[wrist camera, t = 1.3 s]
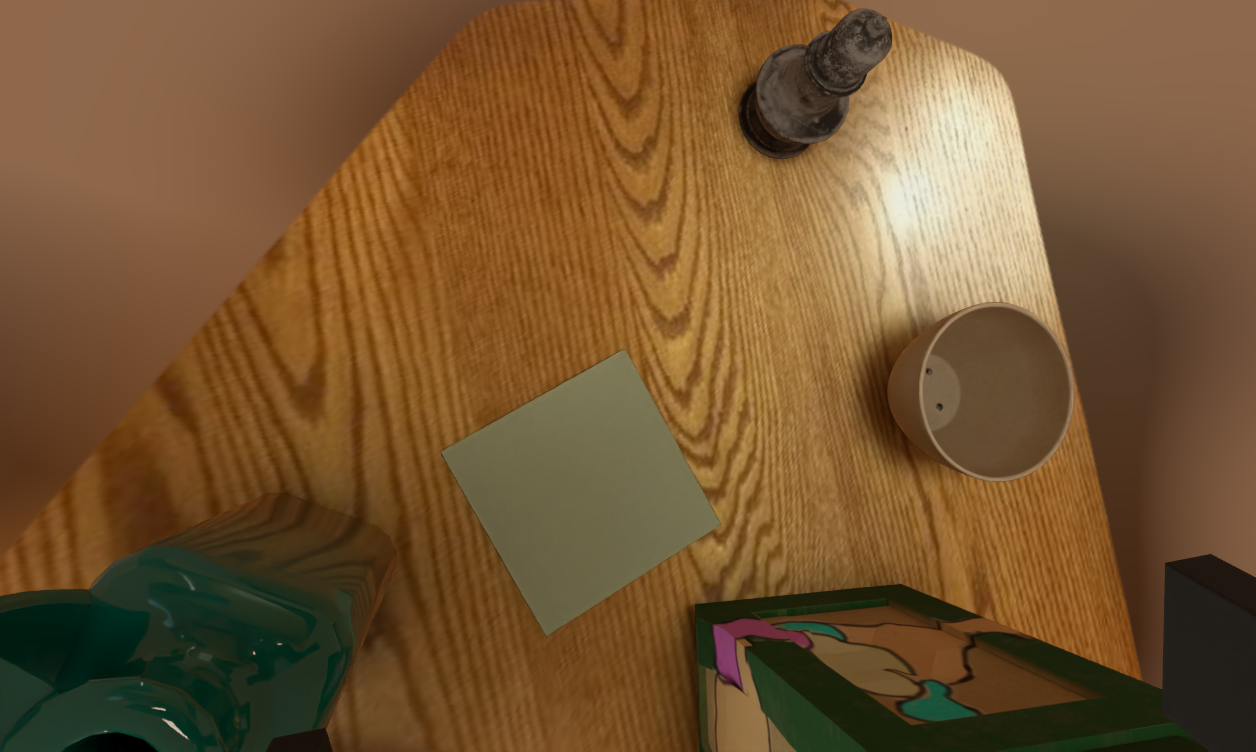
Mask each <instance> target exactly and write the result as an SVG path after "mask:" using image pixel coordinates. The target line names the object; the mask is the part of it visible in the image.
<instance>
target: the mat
mask: <svg viewBox="0 0 1256 752" xmlns="http://www.w3.org/2000/svg"><path fill="white" fill-rule="evenodd" d="M441 454H442V456H443V458H444V460H445V461H446V463H447V465H448V467H449V468H450V470H451V472H452V474H453V475H454V477H455V479H456V481H457V482H458V484H459V486H460V488H461V489H462V491H463V493H464V494H465V496H466V498H467V500H468V501H469V503H470V505H471V507H472V508H473V510H474V512H475V514H476V515H477V517H478V519H479V521H480V522H481V524H482V526H483V528H484V529H485V531H486V533H487V535H488V536H489V538H490V540H491V542H492V543H493V545H494V547H495V548H496V550H497V552H498V554H499V555H500V557H501V559H502V561H503V562H504V564H505V566H506V568H507V569H508V571H509V573H510V575H511V576H512V578H513V580H514V582H515V583H516V585H517V587H518V589H519V590H520V592H521V594H522V596H523V597H524V599H525V601H526V602H527V604H528V606H529V608H530V609H531V611H532V613H533V615H534V616H535V618H536V620H537V622H538V623H539V625H540V627H541V629H542V630H543V632H544V634H545V636H548V635H549V634H551V633H553V632H554V631H556V630H557V629H559V628H560V627H562V626H563V625H565V624H567V623H568V622H570V621H571V620H573V619H574V618H576V617H578V616H579V615H581V614H582V613H584V612H585V611H587V610H588V609H590V608H592V607H593V606H595V605H596V604H598V603H599V602H601V601H603V600H604V599H606V598H607V597H609V596H610V595H612V594H613V593H615V592H617V591H618V590H620V589H621V588H623V587H624V586H626V585H628V584H629V583H631V582H632V581H634V580H635V579H637V578H638V577H640V576H642V575H643V574H645V573H646V572H648V571H649V570H651V569H653V568H654V567H656V566H657V565H659V564H660V563H662V562H663V561H665V560H667V559H668V558H670V557H671V556H673V555H674V554H676V553H677V552H679V551H681V550H682V549H684V548H685V547H687V546H688V545H690V544H692V543H693V542H695V541H696V540H698V539H699V538H701V537H702V536H704V535H706V534H707V533H709V532H710V531H712V530H713V529H715V528H717V527H718V526H720V525H721V523H720V521H719V519H718V518H717V516H716V514H715V512H714V510H713V508H712V507H711V505H710V503H709V501H708V499H707V497H706V496H705V494H704V492H703V490H702V488H701V486H700V485H699V483H698V481H697V479H696V477H695V476H694V474H693V472H692V470H691V468H690V466H689V465H688V463H687V461H686V459H685V457H684V455H683V454H682V452H681V450H680V448H679V446H678V444H677V443H676V441H675V439H674V437H673V435H672V433H671V432H670V430H669V428H668V426H667V424H666V422H665V421H664V419H663V417H662V415H661V413H660V412H659V410H658V408H657V406H656V404H655V402H654V401H653V399H652V397H651V395H650V393H649V391H648V390H647V388H646V386H645V384H644V382H643V380H642V379H641V377H640V375H639V373H638V371H637V369H636V368H635V366H634V364H633V362H632V360H631V359H630V357H629V355H628V353H627V351H626V349H623V350H621V351H619V352H617V353H616V354H614V355H612V356H610V357H608V358H607V359H605V360H603V361H601V362H599V363H598V364H596V365H594V366H592V367H591V368H589V369H587V370H585V371H583V372H582V373H580V374H578V375H576V376H574V377H573V378H571V379H569V380H567V381H565V382H564V383H562V384H560V385H558V386H556V387H555V388H553V389H551V390H549V391H548V392H546V393H544V394H542V395H540V396H539V397H537V398H535V399H533V400H531V401H530V402H528V403H526V404H524V405H522V406H521V407H519V408H517V409H515V410H514V411H512V412H510V413H508V414H506V415H505V416H503V417H501V418H499V419H497V420H496V421H494V422H492V423H490V424H488V425H487V426H485V427H483V428H481V429H479V430H478V431H476V432H474V433H472V434H471V435H469V436H467V437H465V438H463V439H462V440H460V441H458V442H456V443H454V444H453V445H451V446H449V447H447V448H445V449H444V450H442V451H441Z"/></svg>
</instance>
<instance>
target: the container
mask: <svg viewBox="0 0 1256 752" xmlns="http://www.w3.org/2000/svg"><path fill="white" fill-rule="evenodd" d="M695 623H696V651H697V679H698V706H699V734H700V752H1209V751H1208V750H1207V749H1206V748H1205V747H1203V746H1202V745H1201V744H1200V743H1199V742H1197V741H1196V740H1195V739H1194V738H1193V737H1191V736H1190V735H1189V734H1188V733H1186V732H1185V731H1184V730H1183V729H1182V728H1180V727H1179V726H1178V725H1177V724H1176V723H1174V722H1173V721H1172V720H1171V719H1170V718H1168V717H1167V716H1166V715H1165V714H1163V713H1162V689H1160V688H1157V687H1155V686H1152V685H1150V684H1147V683H1145V682H1142V681H1140V680H1137V679H1135V678H1132V677H1130V676H1127V675H1125V674H1122V673H1120V672H1117V671H1115V670H1113V669H1110V668H1108V667H1105V666H1103V665H1100V664H1098V663H1095V662H1093V661H1090V660H1088V659H1085V658H1083V657H1080V656H1078V655H1075V654H1073V653H1070V652H1068V651H1065V650H1063V649H1061V648H1058V647H1056V646H1053V645H1051V644H1048V643H1046V642H1043V641H1041V640H1038V639H1036V638H1033V637H1031V636H1028V635H1026V634H1023V633H1021V632H1018V631H1016V630H1013V629H1011V628H1009V627H1006V626H1004V625H1001V624H999V623H996V622H994V621H991V620H989V619H986V618H984V617H981V616H979V615H976V614H974V613H971V612H969V611H966V610H964V609H961V608H959V607H957V606H954V605H952V604H949V603H947V602H944V601H942V600H939V599H937V598H934V597H932V596H929V595H927V594H924V593H922V592H919V591H917V590H914V589H912V588H909V587H907V586H905V585H902V584H897V585H887V586H877V587H867V588H856V589H846V590H836V591H826V592H816V593H806V594H795V595H785V596H775V597H765V598H755V599H745V600H734V601H724V602H714V603H704V604H695Z"/></svg>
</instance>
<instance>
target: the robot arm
mask: <svg viewBox="0 0 1256 752" xmlns="http://www.w3.org/2000/svg"><path fill="white" fill-rule="evenodd" d="M1163 644H1164V645H1163V689H1162V713H1163V714H1165V715H1166V716H1167V717H1168V718H1170V719H1171V720H1172V721H1173V722H1174V723H1176V724H1177V725H1178V726H1179V727H1180V728H1182V729H1183V730H1184V731H1185V732H1186V733H1188V734H1189V735H1190V736H1191V737H1193V738H1194V739H1195V740H1196V741H1197V742H1199V743H1200V744H1201V745H1202V746H1203V747H1205V748H1206V749H1207V750H1208V751H1209V752H1256V577H1254V576H1252V575H1250V574H1248V573H1246V572H1244V571H1242V570H1240V569H1238V568H1236V567H1235V566H1232V565H1231V564H1229V563H1227V562H1225V561H1223V560H1221V559H1219V558H1217V557H1216V556H1214V555H1212V554H1208V555H1203V556H1199V557H1193V558H1188V559H1183V560H1178V561H1173V562H1168V563H1165V596H1164V643H1163ZM266 752H333V751H332V748H331V744H330V741H329V737H328V734H327V731H326V728H321V729H316V730H311V731H306V732H301V733H296V734H291V735H286V736H280V737H275V738H273V739H272V741H271V742H270V744H269V746H268V748H267V750H266Z"/></svg>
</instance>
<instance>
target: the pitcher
mask: <svg viewBox="0 0 1256 752" xmlns="http://www.w3.org/2000/svg"><path fill="white" fill-rule="evenodd" d="M395 568H396V551H395V549H394V547H393V544H392V542H391V540H390V537H389V536H388V535H387V534H386V533H385V532H383V531H382V530H381V529H380V528H379V527H378V526H375V525H373V524H370V523H367V522H364V521H362V520H359V519H356V518H353V517H351V516H348V515H345V514H342V513H340V512H337V511H334V510H331V509H328V508H326V507H323V506H320V505H317V504H315V503H312V502H309V501H306V500H304V499H301V498H298V497H295V496H292V495H290V494H287V493H268V494H265V495H263V496H260V497H258V498H256V499H253V500H251V501H248V502H246V503H244V504H241V505H239V506H237V507H235V508H232V509H230V510H228V511H225V512H223V513H221V514H218V515H216V516H214V517H211V518H209V519H207V520H204V521H202V522H200V523H198V524H195V525H193V526H191V527H188V528H186V529H184V530H181V531H179V532H177V533H174V534H172V535H170V536H167V537H165V538H163V539H160V540H158V541H156V542H154V543H151V544H149V545H147V546H144V547H142V548H140V549H137V550H135V551H133V552H130V553H128V554H126V555H123V556H121V557H119V558H118V559H116V560H115V561H114V562H113V563H112V564H111V565H110V566H109V567H108V568H107V569H106V570H105V571H104V572H103V573H101V574H100V575H99V576H98V577H97V578H96V579H95V580H94V582H93V583H92V585H91V587H90V589H89V590H84V589H59V590H39V591H29V592H20V593H15V594H9V595H4V596H0V752H266V750H267V748H268V746H269V744H270V742H271V741H272V739H273V738H275V737H280V736H286V735H291V734H296V733H301V732H306V731H311V730H316V729H321V728H326V729H327V726H328V724H329V722H330V719H331V717H332V715H333V712H334V710H335V708H336V705H337V703H338V701H339V698H340V696H341V694H342V691H343V689H344V687H345V684H346V682H347V680H348V678H349V675H350V673H351V671H352V668H353V666H354V664H355V661H356V659H357V657H358V654H359V652H360V650H361V647H362V645H363V643H364V640H365V638H366V636H367V633H368V631H369V629H370V626H371V624H372V622H373V619H374V617H375V615H376V612H377V610H378V608H379V605H380V603H381V601H382V598H383V596H384V594H385V591H386V589H387V587H388V584H389V582H390V580H391V577H392V575H393V573H394V571H395Z"/></svg>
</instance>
